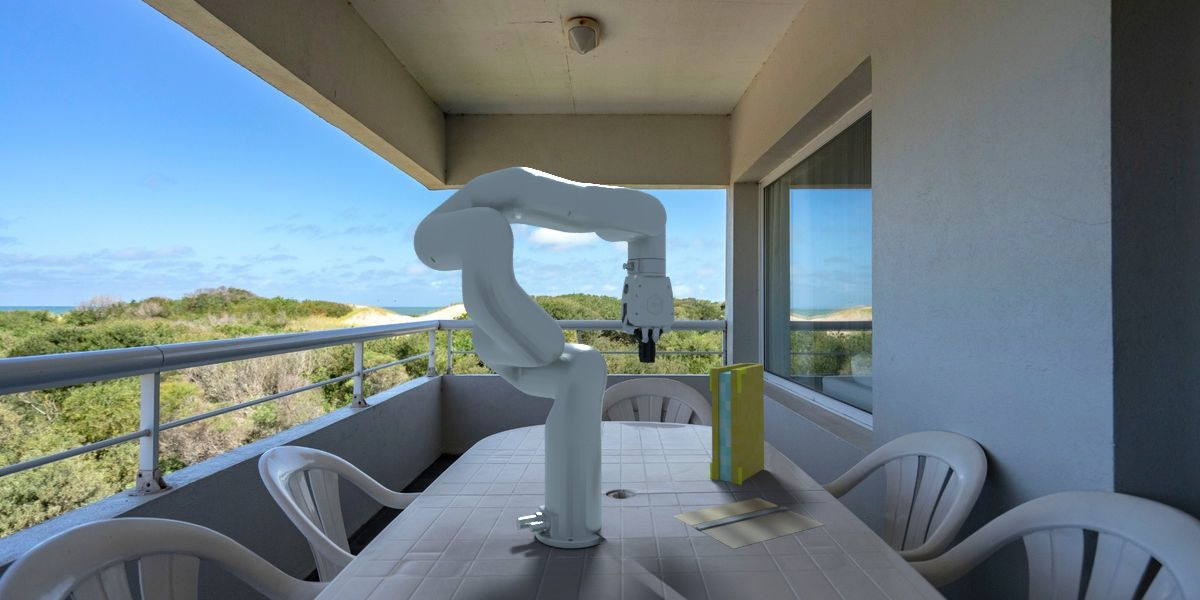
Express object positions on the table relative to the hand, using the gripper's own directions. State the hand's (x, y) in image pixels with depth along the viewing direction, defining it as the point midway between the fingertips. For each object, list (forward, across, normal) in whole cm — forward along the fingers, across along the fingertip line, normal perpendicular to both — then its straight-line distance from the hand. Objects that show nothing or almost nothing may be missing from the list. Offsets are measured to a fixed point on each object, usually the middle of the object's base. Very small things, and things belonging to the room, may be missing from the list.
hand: (647, 362), depth 110 cm
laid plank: (+27, +7, -23) cm, 36 cm away
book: (+27, +26, +2) cm, 38 cm away
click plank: (+27, +7, -13) cm, 31 cm away
